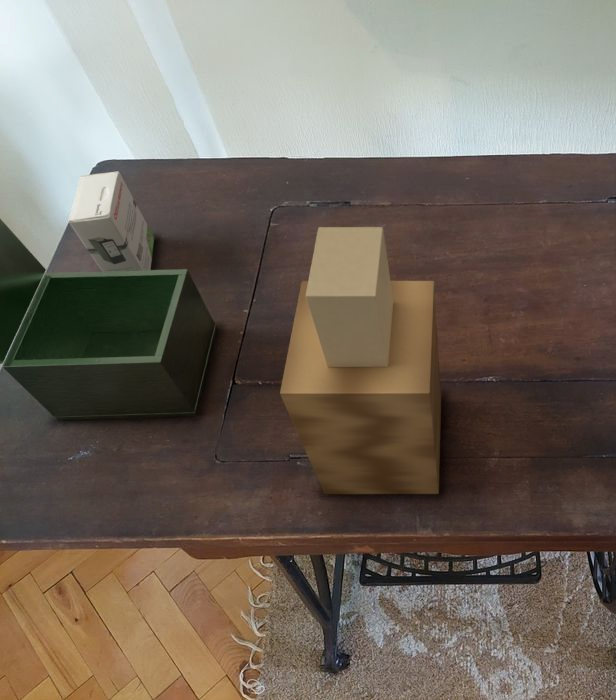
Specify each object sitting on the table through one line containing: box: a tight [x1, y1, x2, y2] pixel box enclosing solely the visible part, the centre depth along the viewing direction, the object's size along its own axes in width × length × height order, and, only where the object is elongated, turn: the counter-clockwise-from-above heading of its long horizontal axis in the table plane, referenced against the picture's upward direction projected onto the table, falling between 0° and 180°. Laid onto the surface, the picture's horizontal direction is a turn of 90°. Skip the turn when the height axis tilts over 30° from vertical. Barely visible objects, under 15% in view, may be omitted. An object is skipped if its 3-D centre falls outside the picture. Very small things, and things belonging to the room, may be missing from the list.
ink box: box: [67, 170, 155, 272], centre depth 83 cm, size 9×5×12 cm, turn 10°
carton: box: [306, 226, 393, 367], centre depth 52 cm, size 5×7×9 cm
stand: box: [279, 280, 442, 495], centre depth 63 cm, size 12×12×20 cm
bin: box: [2, 268, 218, 421], centre depth 73 cm, size 16×13×11 cm
